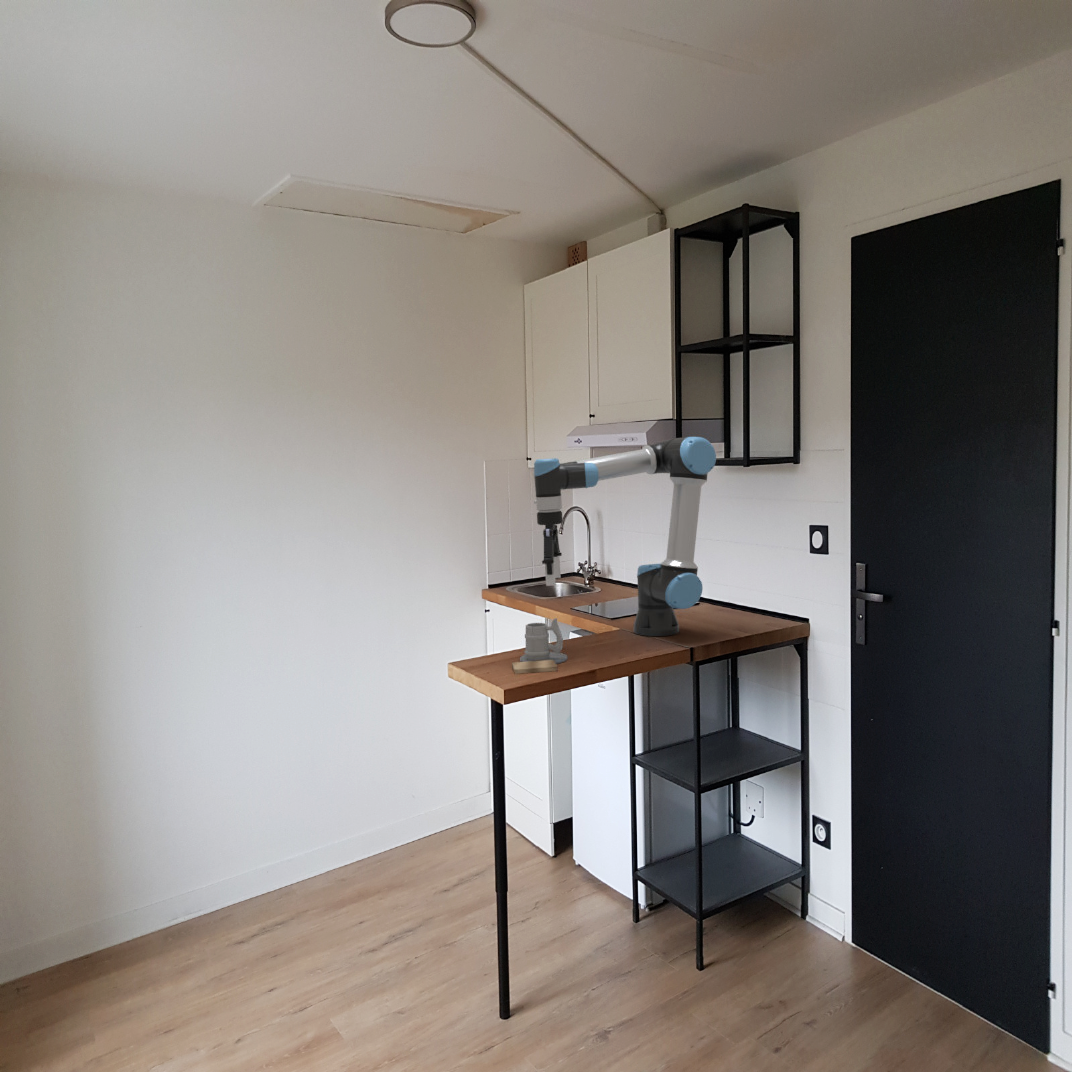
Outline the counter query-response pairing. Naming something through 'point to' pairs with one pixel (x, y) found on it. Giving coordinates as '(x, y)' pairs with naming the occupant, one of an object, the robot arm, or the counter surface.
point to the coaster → (552, 656)
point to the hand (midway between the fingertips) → (553, 581)
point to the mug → (541, 640)
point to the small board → (534, 666)
